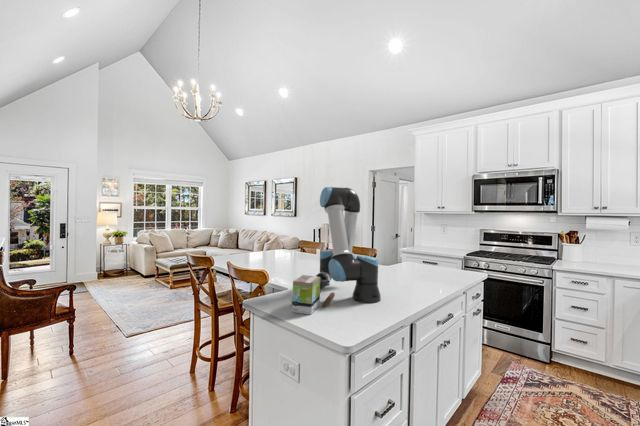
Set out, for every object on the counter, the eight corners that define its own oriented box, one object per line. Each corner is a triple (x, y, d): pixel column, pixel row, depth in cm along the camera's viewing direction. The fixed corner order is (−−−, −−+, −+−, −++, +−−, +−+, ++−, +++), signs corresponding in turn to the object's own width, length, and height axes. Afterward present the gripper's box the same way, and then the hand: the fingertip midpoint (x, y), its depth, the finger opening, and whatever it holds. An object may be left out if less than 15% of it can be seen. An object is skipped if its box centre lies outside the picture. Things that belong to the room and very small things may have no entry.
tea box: (312, 315, 139) (312, 282, 139) (291, 312, 142) (291, 281, 142) (320, 305, 154) (320, 275, 154) (301, 303, 156) (301, 274, 156)
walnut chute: (334, 296, 170) (334, 292, 170) (326, 307, 150) (326, 303, 150) (305, 293, 174) (305, 290, 174) (293, 304, 155) (293, 300, 155)
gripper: (332, 286, 177) (322, 298, 154) (310, 284, 180) (298, 295, 157) (332, 273, 177) (323, 283, 154) (311, 272, 180) (298, 281, 157)
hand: (310, 289), depth 155 cm, fingers closed
